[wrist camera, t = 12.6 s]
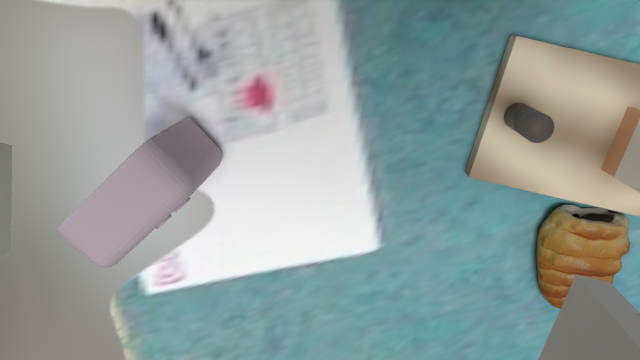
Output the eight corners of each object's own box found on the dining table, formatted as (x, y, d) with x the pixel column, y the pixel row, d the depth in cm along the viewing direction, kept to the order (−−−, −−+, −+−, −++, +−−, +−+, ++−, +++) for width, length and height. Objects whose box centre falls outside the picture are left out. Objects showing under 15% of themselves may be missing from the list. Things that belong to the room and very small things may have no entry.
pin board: (510, 35, 36) (539, 38, 30) (691, 77, 36) (754, 88, 31) (464, 171, 40) (483, 196, 34) (630, 209, 40) (676, 241, 34)
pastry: (596, 304, 43) (617, 330, 39) (518, 296, 43) (533, 321, 40) (624, 206, 40) (650, 224, 36) (541, 198, 40) (558, 216, 37)
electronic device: (156, 225, 43) (100, 283, 34) (117, 188, 42) (48, 237, 33) (233, 154, 41) (196, 195, 31) (193, 113, 40) (142, 142, 30)
